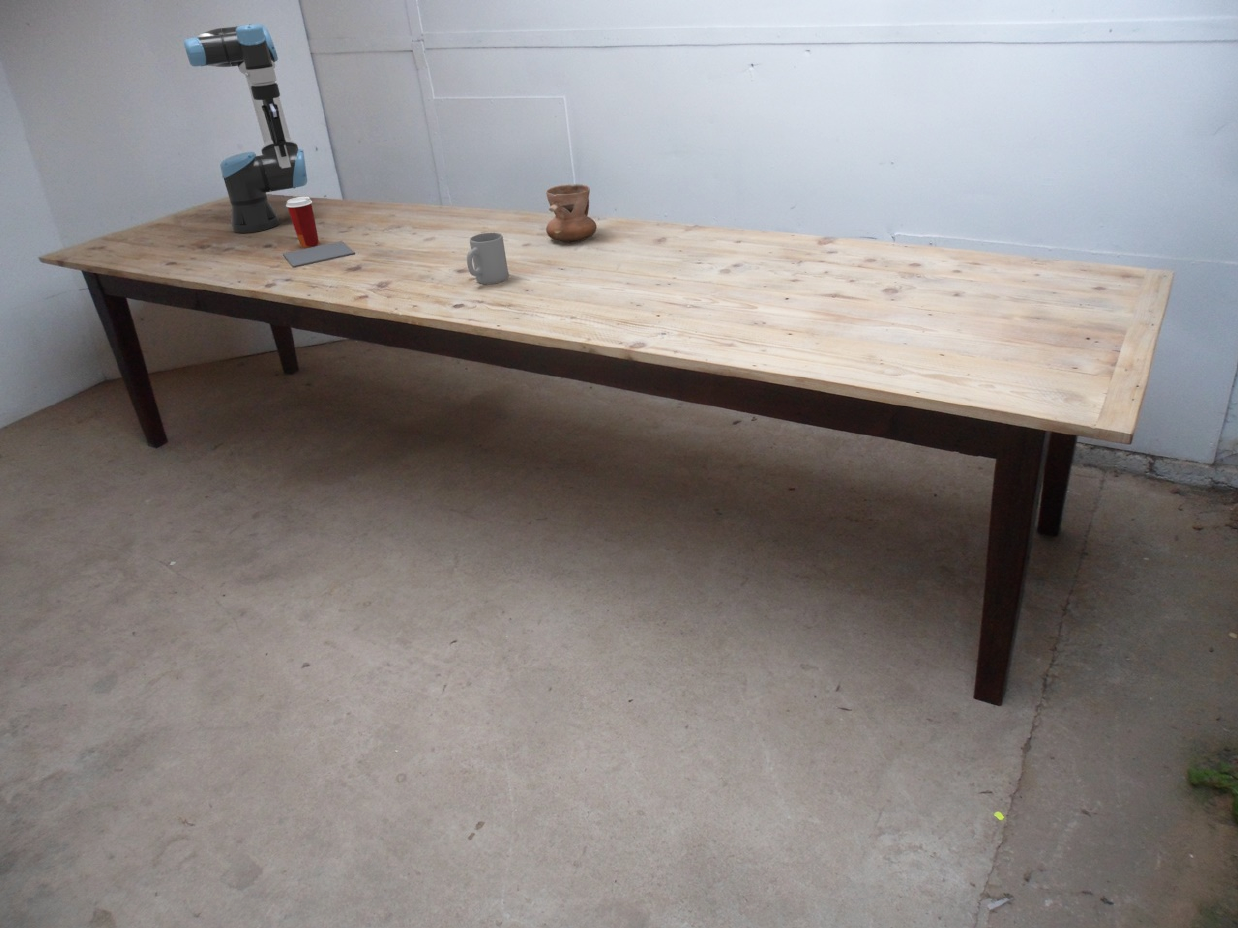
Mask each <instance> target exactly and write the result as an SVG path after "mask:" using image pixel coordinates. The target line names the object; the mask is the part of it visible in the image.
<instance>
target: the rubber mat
mask: <svg viewBox="0 0 1238 928" xmlns="http://www.w3.org/2000/svg"><path fill="white" fill-rule="evenodd" d="M355 254H356V252H355V251H354V250H353V249H352V248H350V247H349V246H348V245H347V244H346V242H344V241H343V240H341V241H340V240H339V241H335V242H330V243H325V244H321V245H320V244H319V245H317V246H314V247H310V248H302V249H297V250H293V251H292V250H291V251H288V252H284V253H282V255H283V257H284V258H285V259H286V260H287V262H288V263H289V264H290V266H291V267H292V268H297V267H298V266H299V267H303V266H308V265H312V264H316V263H321V262H325V261H331V260H335V259H340V258H343V257H348V256H353V255H355Z"/></svg>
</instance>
